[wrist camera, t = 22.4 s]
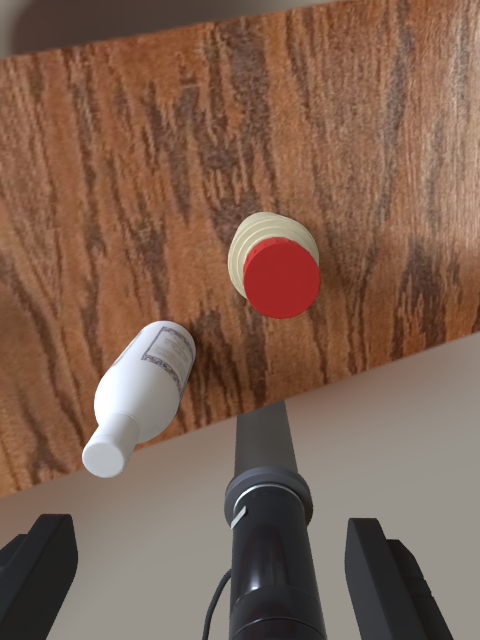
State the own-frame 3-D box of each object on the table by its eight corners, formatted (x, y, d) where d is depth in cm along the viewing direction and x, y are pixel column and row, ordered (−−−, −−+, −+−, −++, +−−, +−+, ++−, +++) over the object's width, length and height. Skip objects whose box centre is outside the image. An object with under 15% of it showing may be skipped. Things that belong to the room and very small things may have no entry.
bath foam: (144, 380, 45) (68, 510, 26) (129, 324, 43) (35, 422, 24) (202, 370, 45) (168, 496, 25) (189, 314, 43) (142, 405, 23)
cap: (242, 301, 25) (241, 318, 21) (244, 235, 23) (243, 241, 20) (307, 303, 24) (318, 320, 21) (312, 236, 23) (324, 243, 20)
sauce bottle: (293, 273, 41) (334, 334, 22) (234, 273, 41) (223, 334, 22) (296, 211, 39) (343, 219, 20) (234, 211, 39) (221, 219, 20)
